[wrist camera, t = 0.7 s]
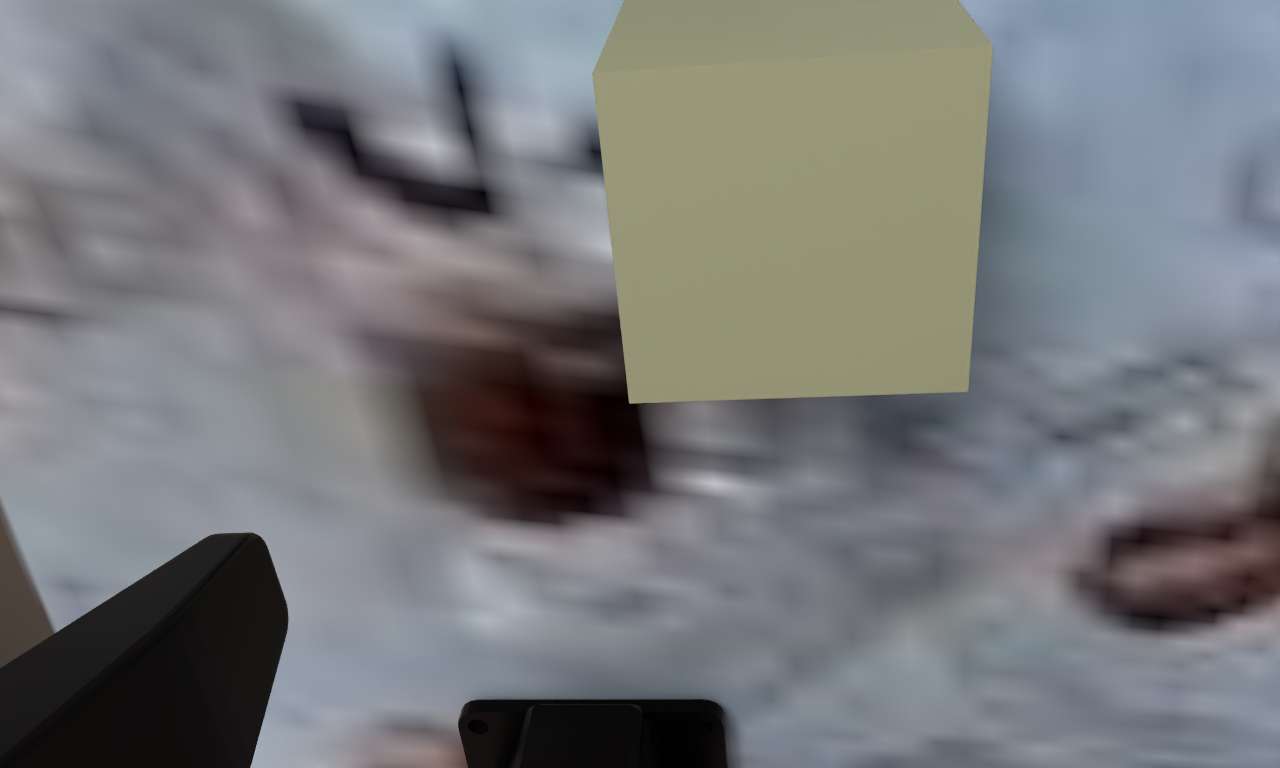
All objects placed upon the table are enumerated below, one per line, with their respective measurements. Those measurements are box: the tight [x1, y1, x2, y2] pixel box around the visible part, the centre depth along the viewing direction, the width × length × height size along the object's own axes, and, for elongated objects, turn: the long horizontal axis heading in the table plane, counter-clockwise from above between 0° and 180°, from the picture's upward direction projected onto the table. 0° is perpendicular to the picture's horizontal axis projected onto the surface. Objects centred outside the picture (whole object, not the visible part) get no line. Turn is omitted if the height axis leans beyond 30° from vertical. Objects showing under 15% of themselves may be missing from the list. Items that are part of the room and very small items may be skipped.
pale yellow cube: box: [592, 0, 993, 403], centre depth 17 cm, size 5×5×5 cm
